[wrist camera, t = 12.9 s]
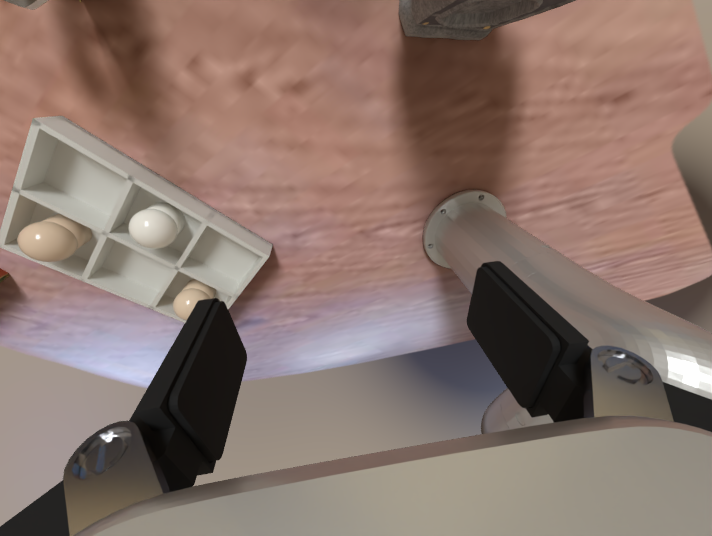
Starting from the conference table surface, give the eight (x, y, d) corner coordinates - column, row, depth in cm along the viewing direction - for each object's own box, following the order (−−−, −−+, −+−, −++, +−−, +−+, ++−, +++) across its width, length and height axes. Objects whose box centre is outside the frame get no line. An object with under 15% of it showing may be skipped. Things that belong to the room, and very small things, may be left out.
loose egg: (193, 215, 35) (174, 234, 30) (178, 240, 36) (157, 262, 32) (155, 192, 33) (128, 209, 28) (140, 221, 35) (112, 241, 30)
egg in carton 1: (96, 223, 34) (61, 245, 29) (90, 251, 36) (56, 275, 31) (50, 204, 32) (4, 224, 27) (46, 234, 34) (2, 258, 29)
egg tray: (272, 244, 39) (269, 256, 36) (216, 317, 45) (209, 333, 42) (62, 115, 28) (32, 118, 26) (23, 232, 34) (-5, 245, 31)
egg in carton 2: (223, 287, 41) (211, 312, 36) (209, 306, 43) (195, 333, 38) (192, 271, 39) (175, 296, 34) (178, 292, 41) (160, 318, 36)
